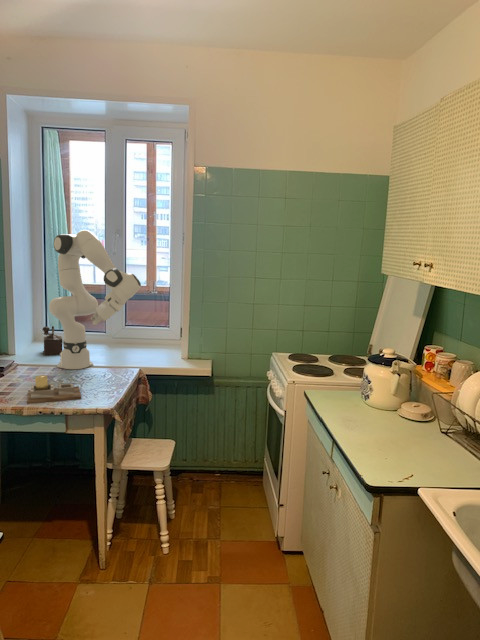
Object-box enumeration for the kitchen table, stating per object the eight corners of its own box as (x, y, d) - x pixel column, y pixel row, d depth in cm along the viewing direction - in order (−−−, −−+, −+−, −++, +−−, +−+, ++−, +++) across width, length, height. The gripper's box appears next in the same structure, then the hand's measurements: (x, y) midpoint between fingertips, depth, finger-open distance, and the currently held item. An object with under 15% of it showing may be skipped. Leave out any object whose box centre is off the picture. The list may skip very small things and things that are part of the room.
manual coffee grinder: (42, 351, 295) (41, 322, 292) (61, 350, 299) (61, 321, 296) (43, 357, 281) (42, 327, 278) (63, 356, 285) (62, 326, 282)
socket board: (28, 392, 220) (27, 383, 220) (78, 388, 229) (78, 380, 228) (27, 403, 207) (27, 394, 206) (81, 399, 215) (81, 390, 214)
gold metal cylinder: (36, 393, 217) (34, 376, 215) (47, 391, 219) (46, 374, 218) (36, 396, 213) (35, 379, 211) (49, 394, 215) (47, 377, 213)
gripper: (106, 294, 241) (86, 313, 239) (111, 300, 222) (89, 321, 221) (115, 302, 243) (95, 322, 242) (121, 310, 225) (99, 331, 223)
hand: (92, 322), depth 231 cm, fingers open, 8 cm apart
